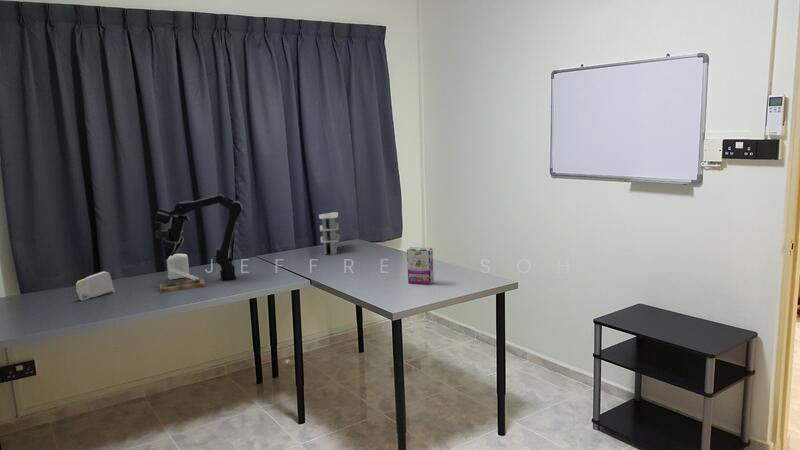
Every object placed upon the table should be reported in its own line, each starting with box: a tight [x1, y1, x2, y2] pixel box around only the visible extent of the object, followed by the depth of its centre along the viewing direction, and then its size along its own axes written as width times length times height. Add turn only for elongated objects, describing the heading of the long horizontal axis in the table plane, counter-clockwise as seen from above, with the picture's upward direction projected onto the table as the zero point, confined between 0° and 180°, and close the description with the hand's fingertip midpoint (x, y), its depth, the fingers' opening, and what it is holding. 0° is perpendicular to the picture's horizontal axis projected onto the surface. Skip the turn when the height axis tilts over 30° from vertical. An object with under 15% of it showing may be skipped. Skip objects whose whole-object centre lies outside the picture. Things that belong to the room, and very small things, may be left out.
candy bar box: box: [406, 247, 435, 286], centre depth 269 cm, size 11×5×16 cm, turn 68°
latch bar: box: [169, 267, 200, 281], centre depth 278 cm, size 15×4×1 cm, turn 116°
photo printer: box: [166, 253, 190, 281], centre depth 296 cm, size 10×4×12 cm, turn 123°
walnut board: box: [159, 278, 206, 293], centre depth 279 cm, size 20×10×3 cm, turn 115°
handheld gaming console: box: [75, 270, 116, 301], centre depth 267 cm, size 11×3×15 cm
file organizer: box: [318, 211, 340, 255], centre depth 346 cm, size 26×35×22 cm
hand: (168, 257), depth 284 cm, fingers open, 9 cm apart
